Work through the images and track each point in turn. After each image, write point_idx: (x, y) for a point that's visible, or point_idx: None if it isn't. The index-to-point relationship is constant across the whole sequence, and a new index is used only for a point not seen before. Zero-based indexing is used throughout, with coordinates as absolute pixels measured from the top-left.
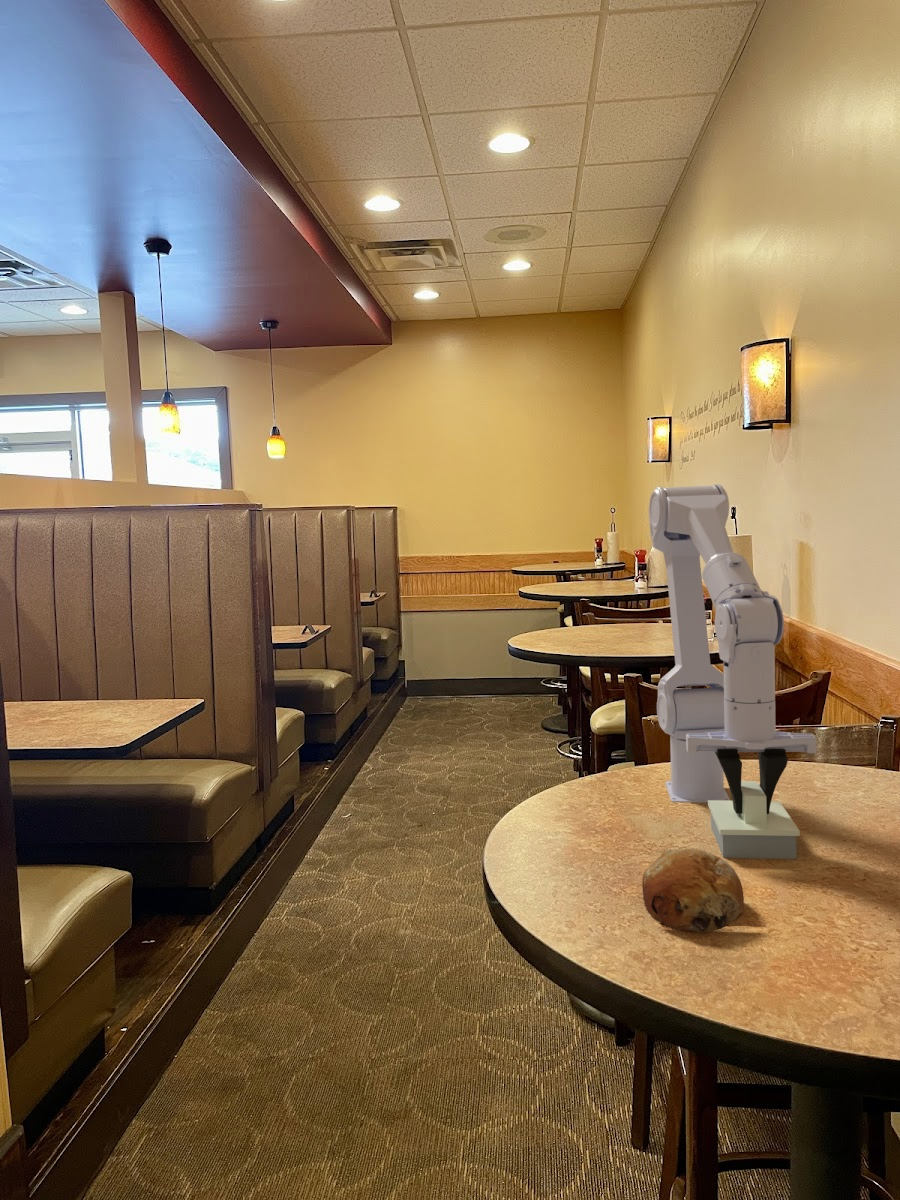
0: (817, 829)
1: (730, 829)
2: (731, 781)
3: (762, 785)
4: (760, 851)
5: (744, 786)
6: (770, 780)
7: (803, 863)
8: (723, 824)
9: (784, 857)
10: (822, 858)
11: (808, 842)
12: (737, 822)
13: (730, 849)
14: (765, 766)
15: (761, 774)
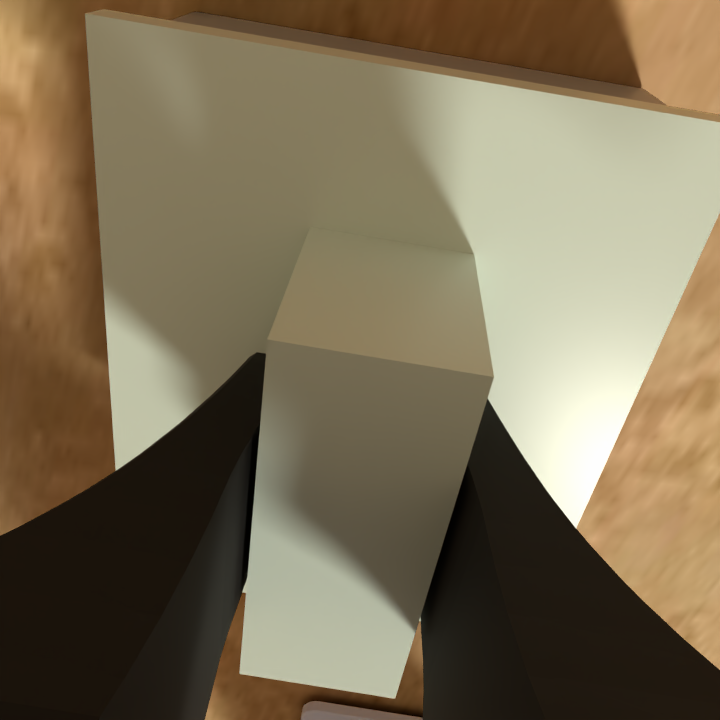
0: (2, 450)
1: (670, 117)
2: (604, 576)
3: (231, 560)
4: (413, 61)
5: (379, 597)
6: (153, 511)
7: (154, 6)
8: (660, 244)
9: (262, 28)
10: (27, 79)
11: (68, 313)
12: (526, 274)
13: (617, 96)
14: (149, 689)
15: (204, 675)
